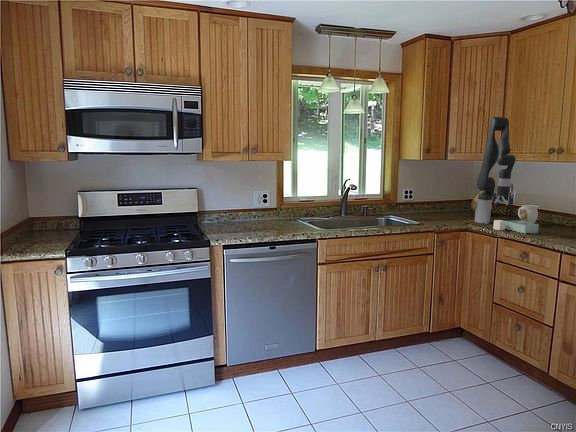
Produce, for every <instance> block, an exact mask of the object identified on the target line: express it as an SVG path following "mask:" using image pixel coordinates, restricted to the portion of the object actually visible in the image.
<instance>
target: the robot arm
mask: <svg viewBox="0 0 576 432" xmlns="http://www.w3.org/2000/svg"><path fill="white" fill-rule="evenodd" d="M497 131H498V132H502V135H501V137H500V138H498V141H497V139H496V132H497ZM511 151H512V150H511V145H510V120H509V118H507V117H501V116H493V117H491V119H490V122H489V127H488V133H487V139H486V146H485V149H484V153H483V158H482V163H481V168H480V172H479V174H478V177H477V181H476V186H477V189H478V190H479V191H480V190H483V192H482V193H481V194H480V195H478V202H477V209H476V212H475V215H474V222H475V223H478V224H483V223H484V225H485V224H487V225H488V224H490V220H491V211H492V208H491V203H494V210H498V209H499V205H500V204H499V203H500V202H501V201H502V202H504V203H505V211H506V212H507V211H508V212H509V211H510V208H511V205H514V194H510V193H511V185H512V172H513V169H514V166H515V163H516V160H517V159H516V156H515V155H514V154H510V153H511ZM496 163H497V165H499V166H500V167H501V166H503V167H504V166H505V167H506V166H507V167H506V168H501V169H499V171H498V180H497V188H496V181H495V178H493V177H491V176H490V175H489V174H490V172H491V171H492V168H493V167H494V166H495V165H496ZM495 188H496V193H495Z"/></svg>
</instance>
